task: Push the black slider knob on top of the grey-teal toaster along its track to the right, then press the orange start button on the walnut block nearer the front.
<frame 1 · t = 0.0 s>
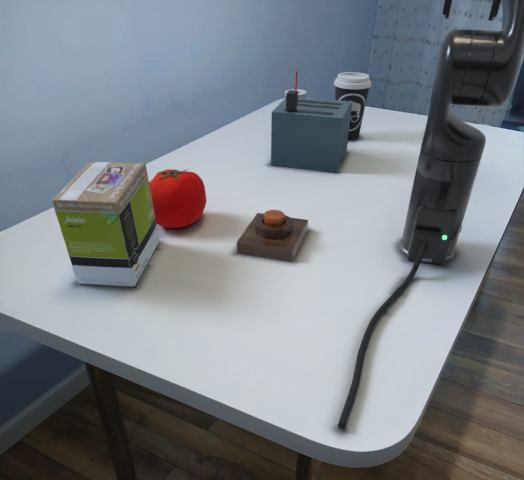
hand: (468, 19, 102), 29 cm above the table, tool pointing down, fingers open, 8 cm apart
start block: (273, 241, 90), on the table
tomato: (178, 222, 96), on the table
coffee cup: (346, 137, 135), on the table
start button: (274, 218, 87), point 4 cm above the table, slide at 0.1 cm
beverage cup: (294, 126, 142), on the table
tea box: (120, 263, 85), on the table
slider: (291, 100, 111), point 14 cm above the table, slide at 0.0 cm
toaster: (309, 158, 122), on the table
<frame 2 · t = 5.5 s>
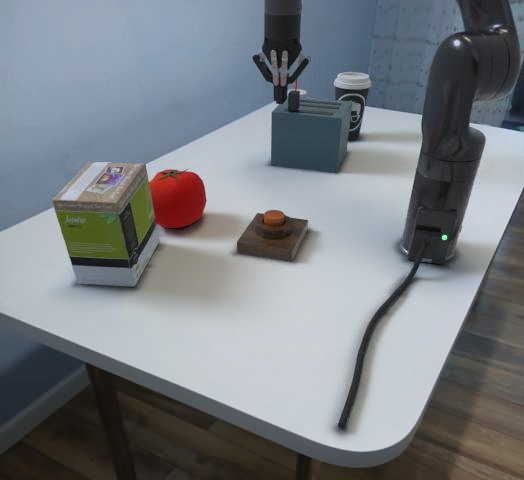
hand: (280, 103, 112), 13 cm above the table, tool pointing down, fingers closed
slider: (293, 100, 111), point 14 cm above the table, slide at 0.4 cm, touching gripper
everything else where it was.
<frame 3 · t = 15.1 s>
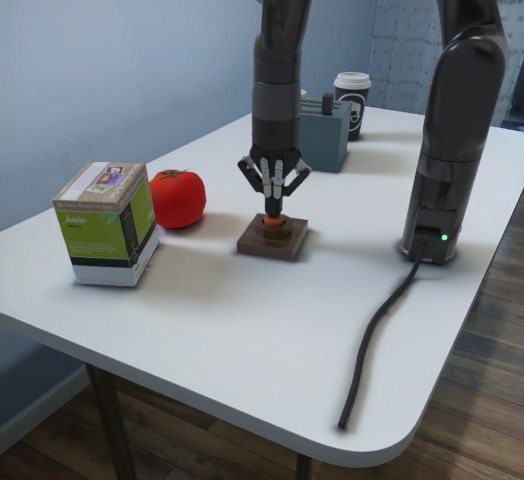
hand: (273, 215, 87), 5 cm above the table, tool pointing down, fingers closed
start button: (274, 221, 88), point 4 cm above the table, slide at -0.4 cm, touching gripper
slider: (327, 103, 109), point 14 cm above the table, slide at 8.1 cm
everything else where it was.
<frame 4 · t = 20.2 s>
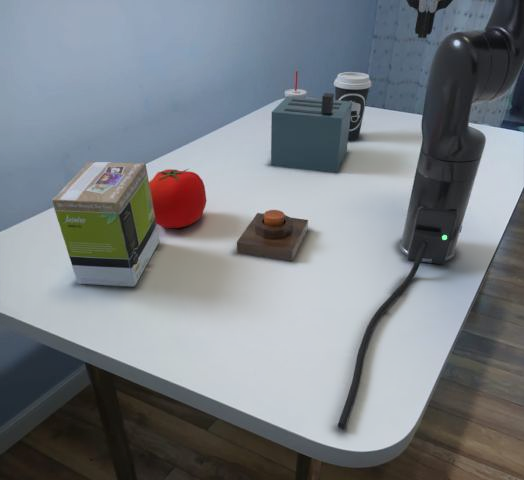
hand: (422, 37, 87), 29 cm above the table, tool pointing down, fingers closed
start button: (274, 218, 87), point 4 cm above the table, slide at 0.1 cm
everything else where it was.
at the end: slider slide at 8.1 cm; start button pushed in 1.1 cm at the most during the clip, back to where it started at the end; start button slide at 0.1 cm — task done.
